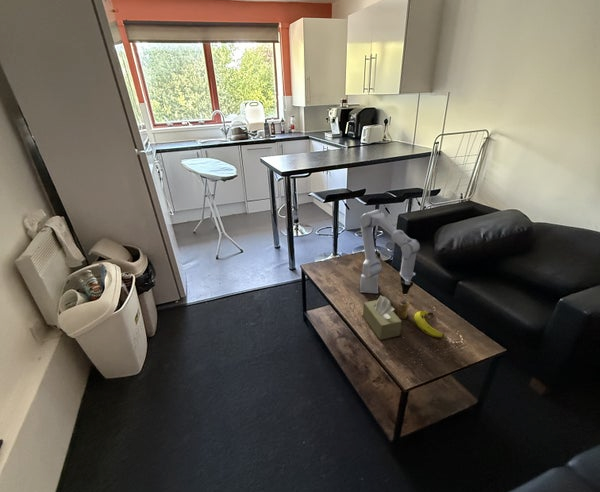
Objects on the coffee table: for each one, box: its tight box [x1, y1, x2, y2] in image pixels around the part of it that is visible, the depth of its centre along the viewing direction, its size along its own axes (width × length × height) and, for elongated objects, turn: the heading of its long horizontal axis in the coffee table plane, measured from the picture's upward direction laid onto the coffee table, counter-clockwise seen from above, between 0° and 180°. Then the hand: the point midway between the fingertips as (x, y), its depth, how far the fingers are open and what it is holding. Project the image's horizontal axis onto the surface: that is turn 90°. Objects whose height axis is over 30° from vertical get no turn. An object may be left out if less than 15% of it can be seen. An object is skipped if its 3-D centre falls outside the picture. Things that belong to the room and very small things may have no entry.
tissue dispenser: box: [362, 295, 403, 340], centre depth 144 cm, size 19×10×16 cm, turn 15°
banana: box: [413, 310, 445, 339], centre depth 146 cm, size 5×17×15 cm
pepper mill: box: [396, 299, 410, 320], centre depth 152 cm, size 5×5×9 cm
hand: (403, 289), depth 155 cm, fingers open, 7 cm apart
